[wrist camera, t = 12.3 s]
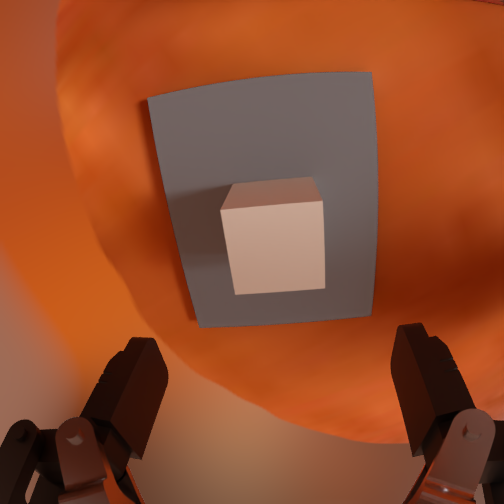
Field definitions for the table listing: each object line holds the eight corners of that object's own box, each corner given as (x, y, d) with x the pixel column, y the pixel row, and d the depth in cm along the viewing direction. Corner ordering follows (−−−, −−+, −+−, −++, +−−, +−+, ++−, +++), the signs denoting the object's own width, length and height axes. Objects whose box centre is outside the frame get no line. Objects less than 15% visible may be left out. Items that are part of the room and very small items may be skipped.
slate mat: (366, 73, 17) (371, 72, 16) (368, 308, 25) (371, 315, 24) (152, 97, 19) (147, 98, 18) (201, 320, 27) (199, 327, 26)
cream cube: (311, 176, 19) (322, 200, 15) (315, 248, 22) (325, 288, 17) (233, 183, 20) (220, 210, 16) (243, 253, 22) (235, 294, 18)
